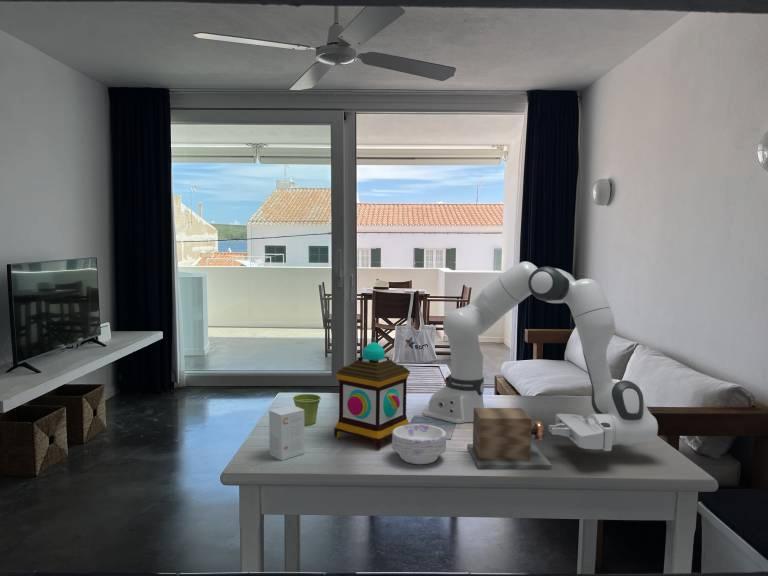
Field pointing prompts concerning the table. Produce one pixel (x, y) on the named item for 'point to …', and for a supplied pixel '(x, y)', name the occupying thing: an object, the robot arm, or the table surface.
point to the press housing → (504, 440)
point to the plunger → (537, 430)
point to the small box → (286, 432)
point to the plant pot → (308, 406)
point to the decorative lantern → (372, 396)
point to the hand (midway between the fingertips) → (550, 429)
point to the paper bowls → (419, 443)
